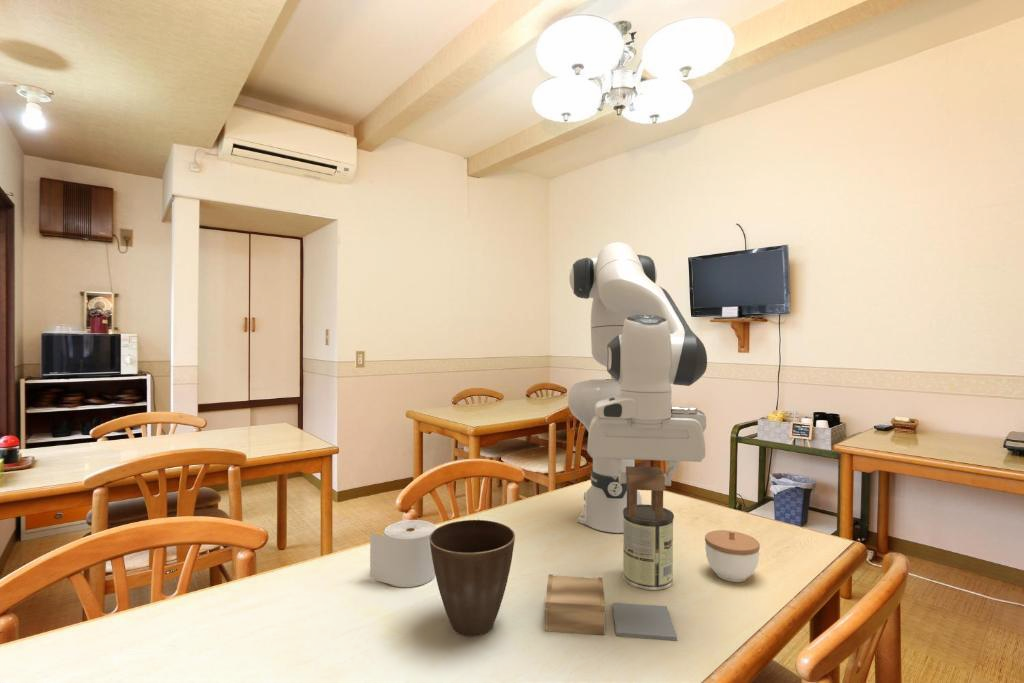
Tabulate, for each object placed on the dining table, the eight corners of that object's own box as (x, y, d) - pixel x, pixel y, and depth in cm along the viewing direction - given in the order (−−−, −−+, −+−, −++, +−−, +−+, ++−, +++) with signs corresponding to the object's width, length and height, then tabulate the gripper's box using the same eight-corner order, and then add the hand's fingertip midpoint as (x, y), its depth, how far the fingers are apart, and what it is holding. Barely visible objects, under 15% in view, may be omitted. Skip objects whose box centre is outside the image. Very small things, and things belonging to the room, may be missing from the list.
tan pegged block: (628, 518, 91) (629, 475, 91) (625, 506, 97) (625, 466, 97) (664, 520, 90) (664, 476, 90) (658, 508, 96) (659, 467, 96)
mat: (612, 605, 99) (612, 602, 99) (666, 609, 98) (666, 606, 98) (616, 636, 89) (616, 632, 89) (677, 640, 88) (677, 637, 88)
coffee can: (628, 564, 117) (628, 501, 117) (676, 573, 113) (677, 508, 112) (617, 584, 108) (617, 516, 107) (669, 595, 103) (669, 524, 103)
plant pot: (482, 661, 82) (482, 560, 82) (410, 632, 90) (411, 539, 90) (529, 618, 95) (530, 530, 94) (463, 595, 103) (464, 514, 102)
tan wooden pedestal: (548, 600, 101) (548, 574, 101) (602, 604, 100) (602, 577, 100) (545, 631, 91) (545, 601, 90) (605, 635, 89) (605, 606, 89)
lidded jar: (765, 590, 106) (765, 544, 105) (708, 584, 108) (709, 539, 108) (752, 566, 116) (752, 524, 116) (701, 562, 118) (701, 520, 118)
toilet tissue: (445, 575, 111) (446, 528, 111) (398, 596, 102) (398, 545, 102) (415, 560, 118) (415, 516, 118) (368, 578, 110) (368, 530, 109)
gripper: (702, 405, 95) (700, 481, 95) (587, 402, 97) (586, 476, 98) (710, 410, 89) (709, 492, 89) (588, 407, 91) (587, 486, 91)
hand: (644, 484), depth 93 cm, fingers closed on tan pegged block, 6 cm apart
